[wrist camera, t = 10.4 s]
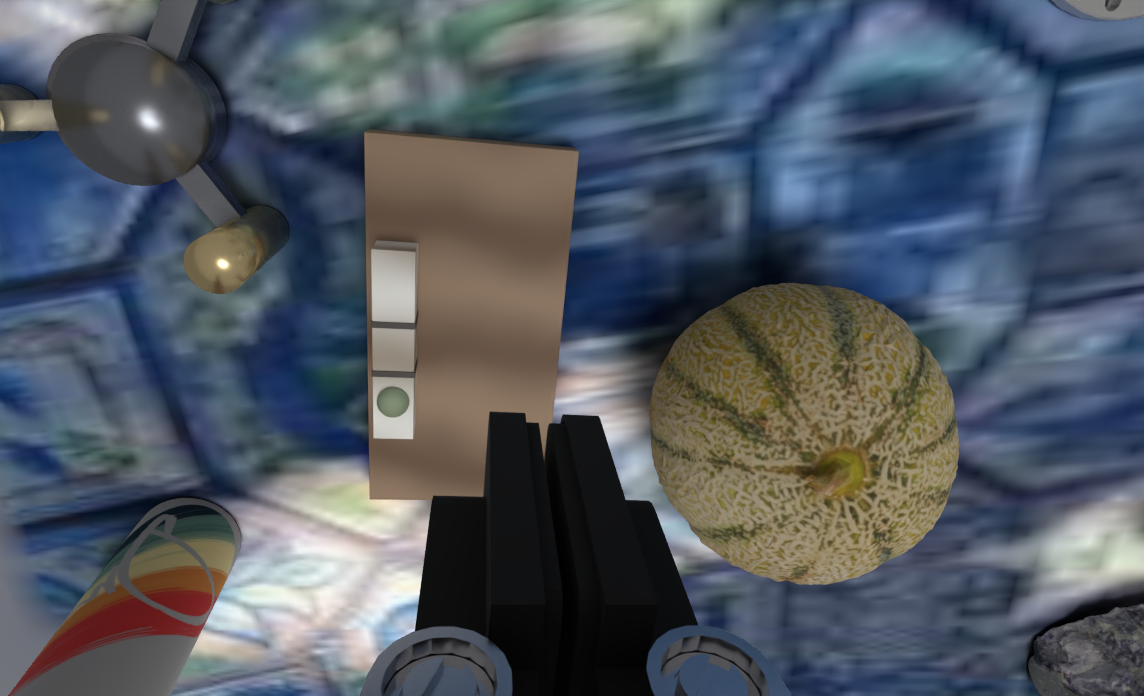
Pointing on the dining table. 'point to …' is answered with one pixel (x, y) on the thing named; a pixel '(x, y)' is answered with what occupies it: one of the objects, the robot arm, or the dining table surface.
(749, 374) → the cantaloupe
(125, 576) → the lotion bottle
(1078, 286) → the dining table surface
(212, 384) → the dining table surface
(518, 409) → the level board
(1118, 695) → the mineral rock
